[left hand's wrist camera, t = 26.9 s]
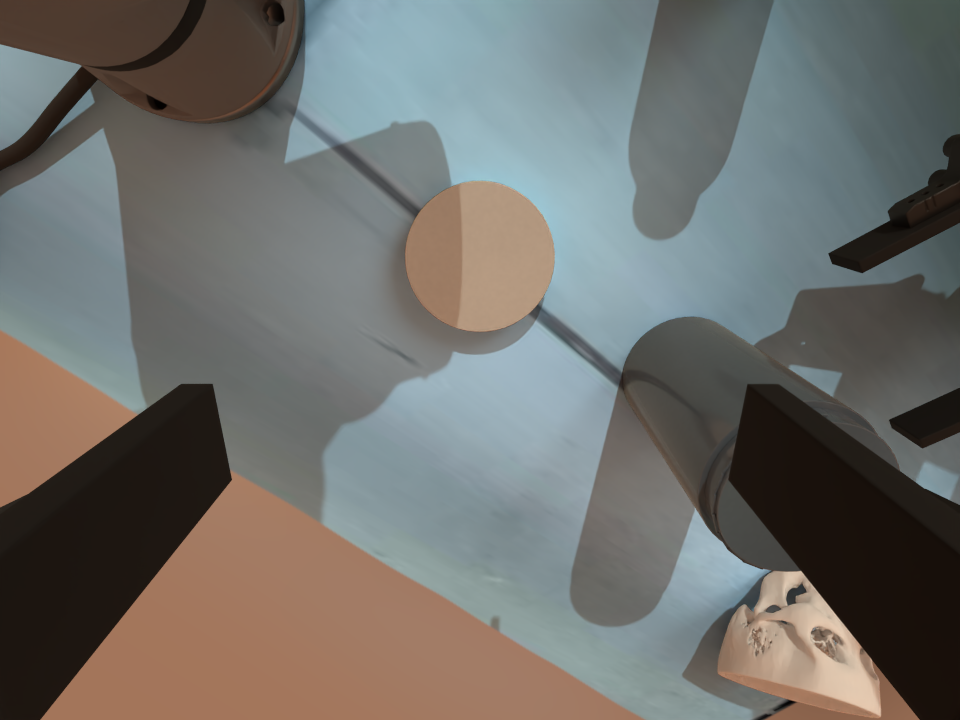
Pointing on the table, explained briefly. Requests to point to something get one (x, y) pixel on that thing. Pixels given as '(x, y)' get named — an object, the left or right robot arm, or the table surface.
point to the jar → (719, 421)
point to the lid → (479, 256)
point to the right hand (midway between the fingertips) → (876, 354)
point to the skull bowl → (799, 651)
